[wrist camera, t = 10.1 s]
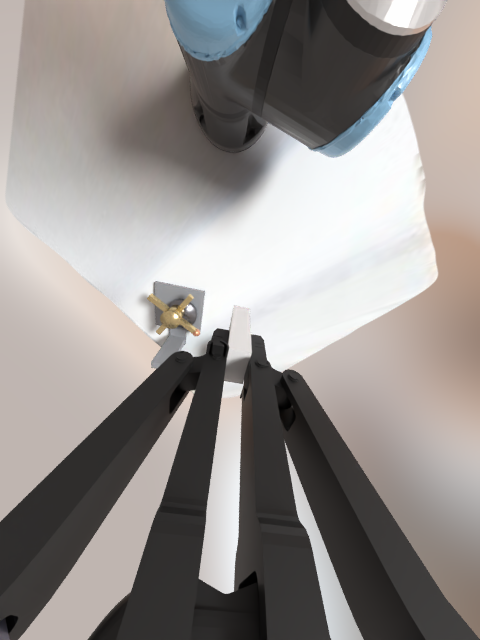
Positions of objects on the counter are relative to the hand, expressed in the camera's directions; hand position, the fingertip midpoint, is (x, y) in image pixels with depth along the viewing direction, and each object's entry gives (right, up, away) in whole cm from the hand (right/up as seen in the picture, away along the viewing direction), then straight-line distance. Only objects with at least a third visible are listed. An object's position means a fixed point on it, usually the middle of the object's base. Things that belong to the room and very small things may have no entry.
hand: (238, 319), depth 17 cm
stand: (-19, +1, +39) cm, 43 cm away
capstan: (-18, +3, +37) cm, 41 cm away
